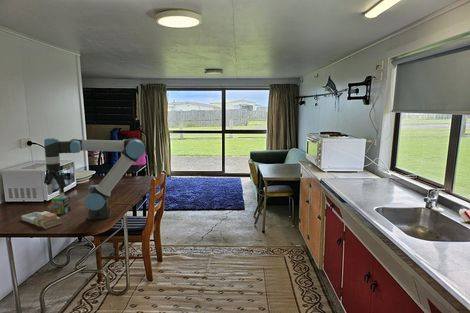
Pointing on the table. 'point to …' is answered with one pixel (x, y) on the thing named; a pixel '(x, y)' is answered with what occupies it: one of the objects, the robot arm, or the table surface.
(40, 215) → the off-white block
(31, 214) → the tray
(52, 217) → the salmon tan block
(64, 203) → the chalk box
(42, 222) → the birch board
